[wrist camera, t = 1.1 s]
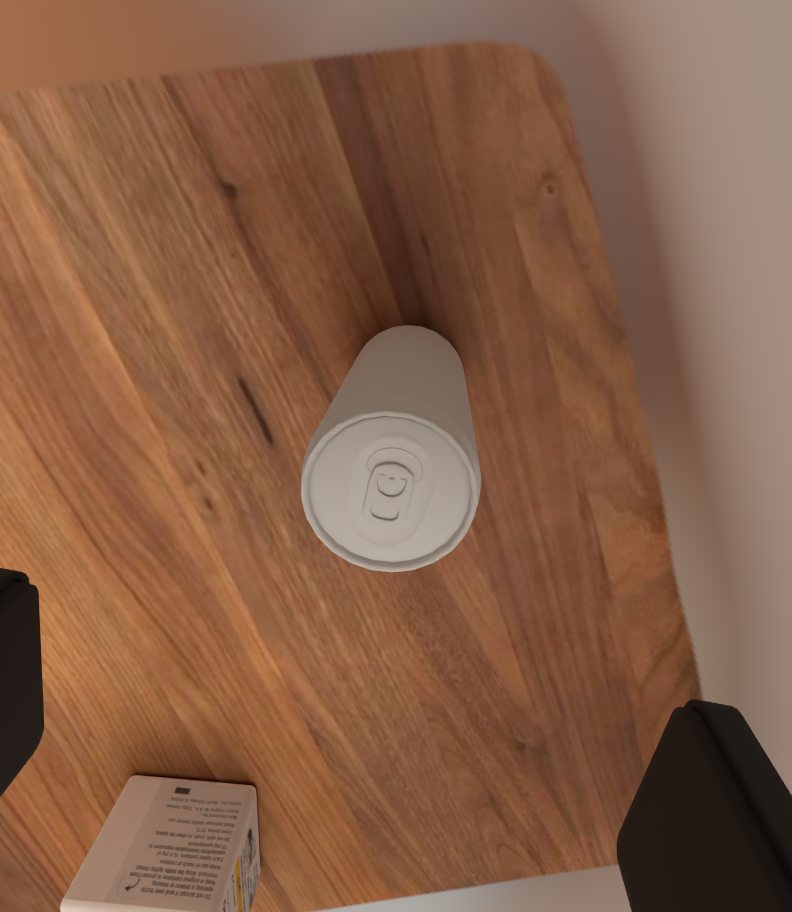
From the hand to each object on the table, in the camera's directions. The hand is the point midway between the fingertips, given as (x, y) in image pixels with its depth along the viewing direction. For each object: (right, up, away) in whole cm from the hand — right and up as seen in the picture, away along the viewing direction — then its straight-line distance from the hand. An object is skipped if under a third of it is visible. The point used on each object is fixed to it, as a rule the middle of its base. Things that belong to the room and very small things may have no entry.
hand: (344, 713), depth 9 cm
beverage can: (+1, +7, +18) cm, 19 cm away
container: (-12, -19, +29) cm, 37 cm away
